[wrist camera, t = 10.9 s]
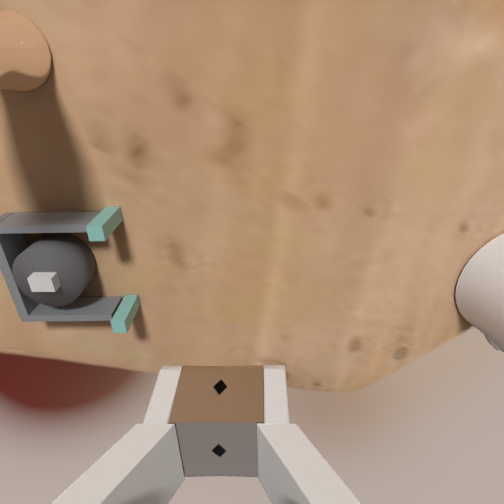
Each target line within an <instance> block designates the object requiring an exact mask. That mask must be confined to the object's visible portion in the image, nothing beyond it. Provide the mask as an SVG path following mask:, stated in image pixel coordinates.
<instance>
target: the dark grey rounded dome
mask: <svg viewBox="0 0 504 504" xmlns="http://www.w3.org/2000/svg"><path fill="white" fill-rule="evenodd" d="M95 272H96V259H95V256H94V254H93V252H92V251H91V249H90V248H89V247H88V246H87V245H86V244H85V243H84V242H83V241H82V240H80V239H79V238H77V237H75V236H73V235H71V234H67V233H48V234H45V235H43V236H41V237H40V238H39V239H38V240H36V241H35V242H34V243H33V244H32V245H30V246H29V247H28V248H27V249H25V250H24V251H23V252H22V253H21V254H19V255H18V256H17V257H16V259H15V260H14V263H13V266H12V274H13V278H14V280H15V283H16V284H17V286H18V287H19V289H20V290H21V291H22V292H23V293H24V294H25V295H26V296H28V297H29V298H31V299H32V300H34V301H36V302H38V303H41V304H44V305H47V306H64V305H68V304H70V303H72V302H73V301H75V300H76V299H77V298H78V296H79V295H80V294H81V292H82V291H83V290H84V288H85V287H86V286H87V285H88V283H89V282H90V281H91V279H92V278H93V276H94V275H95Z"/></svg>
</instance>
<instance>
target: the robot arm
mask: <svg viewBox="0 0 504 504" xmlns="http://www.w3.org/2000/svg"><path fill="white" fill-rule="evenodd" d="M455 296H456V304H457V307H458V310H459V312H460V313H461V315H462V316H463V317H464V318H465V320H467V321H468V322H469V323H470V324H472V325H473V326H474V327H476V328H477V329H479V330H480V331H481V332H483V333H484V334H485V337H486V339H487V340H488V342H489V343H490V344H491V345H492V346H493V347H494V348H495V349H497V350H502V351H503V352H504V233H503V234H501V235H499V236H498V237H496V238H494V239H493V240H491V241H490V242H488V243H487V244H486V245H484V246H483V247H482V248H481V249H480V250H479V251H478V252H477V253H476V254H475V255H474V256H473V257H472V258H471V259H470V260H469V262H468V263H467V264H466V266H465V267H464V269H463V271H462V273H461V275H460V277H459V279H458V282H457V286H456V294H455ZM263 373H264V379H263ZM197 476H243V477H244V476H245V477H259V481H260V482H261V484H262V486H263V488H264V490H265V492H266V494H267V495H268V497H269V499H270V501H271V502H272V504H361V503H360V501H359V500H358V499H357V498H356V496H355V495H354V494H353V493H352V492H351V490H350V489H349V488H348V487H347V486H346V484H345V483H344V482H343V481H342V479H341V478H340V477H339V476H338V474H337V473H336V472H335V471H334V469H333V468H332V467H331V466H330V464H329V463H328V462H327V461H326V459H325V458H324V457H323V456H322V455H321V453H320V452H319V451H318V450H317V448H316V447H315V446H314V445H313V443H312V442H311V441H310V440H309V439H308V437H307V436H306V435H305V434H304V432H303V431H302V430H301V429H300V427H299V426H298V425H297V424H293V423H292V424H291V423H290V418H289V407H288V395H287V383H286V371H285V367H284V365H264V368H263V365H258V366H163V367H162V368H161V370H160V371H159V374H158V378H157V381H156V384H155V387H154V390H153V393H152V396H151V400H150V403H149V406H148V409H147V412H146V415H145V418H144V421H143V424H136V425H135V426H133V427H132V428H131V429H130V430H129V431H128V432H127V433H126V434H125V435H124V436H123V437H122V438H121V439H120V440H119V441H117V442H116V443H115V444H114V445H113V446H112V447H111V448H110V449H109V450H108V451H107V452H106V453H105V454H104V455H102V456H101V457H100V458H99V459H98V460H97V461H96V462H95V463H94V464H93V465H92V466H91V467H90V468H89V469H87V470H86V471H85V472H84V473H83V474H82V475H81V476H80V477H79V478H78V479H77V480H76V481H75V482H74V483H72V485H70V486H69V487H68V488H67V489H66V490H65V491H64V492H63V493H62V494H61V495H60V496H59V497H58V498H56V499H55V500H54V501H53V502H52V503H51V504H168V503H169V501H170V500H171V498H172V497H173V496H174V494H175V493H176V491H177V490H178V488H179V487H180V486H181V484H182V483H183V481H184V480H185V478H184V477H197Z"/></svg>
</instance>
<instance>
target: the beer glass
mask: <svg viewBox="0 0 504 504" xmlns="http://www.w3.org/2000/svg"><path fill="white" fill-rule="evenodd" d="M50 70H51V53H50V49H49V46H48V44H47V41H46V39H45V37H44V36H43V34H42V33H41V31H40V30H39V29H38V27H37V26H36V25H35V24H34V23H33V22H31V21H30V20H29V19H28V18H26V17H25V16H23V15H21V14H19V13H16V12H14V11H9V10H0V89H4V88H7V89H12V90H18V91H29V90H33V89H36V88H38V87H40V86H41V85H42V84H43V83H44V82H45V81H46V80H47V78H48V76H49V74H50Z"/></svg>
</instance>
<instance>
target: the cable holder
mask: <svg viewBox="0 0 504 504" xmlns="http://www.w3.org/2000/svg"><path fill="white" fill-rule="evenodd" d="M122 220H123V219H122V214H121V209H120V207H105V208H104V209H103V210H102V211H81V212H25V213H4V214H3V215H1V216H0V269H1V271H2V274H3V276H4V279H5V281H6V284H7V286H8V289H9V291H10V294H11V296H12V299H13V301H14V304H15V306H16V309H17V311H18V313H19V316H20V318H21V321H22V322H34V321H110V322H111V326H112V330H113V333H127V332H128V330H129V327H130V325H131V323H132V321H133V319H134V317H135V315H136V313H137V311H138V309H139V307H140V301H139V296H138V295H125V297H124V298H123V300H122V297H78V298H77V299H76V300H75V301H73V302H72V303H70V304H68V305H64V306H47V305H44V304H41V303H38V302H36V301H34V300H32V299H31V298H29V297H28V296H26V295H25V294H24V293H23V292H22V291H21V290H20V289H19V287H18V286H17V284H16V283H15V280H14V278H13V274H12V266H13V263H14V260H15V259H16V257H17V256H18V255H19V254H21V253H22V252H23V251H24V250H25V249H27V246H26V243H25V240H24V237H23V234H22V233H72V232H87V234H88V238H89V241H106V240H107V238H108V237H109V236H110V235H111V234H112V232H113V231H114V230H115V229H116V228H117V226H118V225H119V224H120V223H121V222H122Z"/></svg>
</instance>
